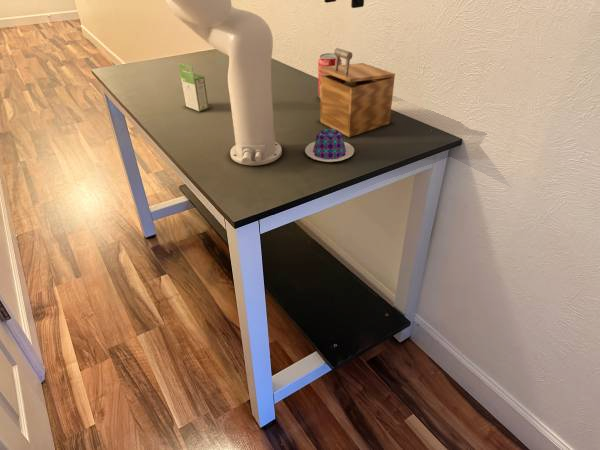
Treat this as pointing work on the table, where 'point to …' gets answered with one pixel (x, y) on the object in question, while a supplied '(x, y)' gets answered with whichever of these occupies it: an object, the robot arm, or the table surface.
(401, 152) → the table surface
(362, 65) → the bin lid
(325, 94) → the wooden bin
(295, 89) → the table surface
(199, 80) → the ink box
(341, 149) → the pudding
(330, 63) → the soda can
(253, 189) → the table surface
